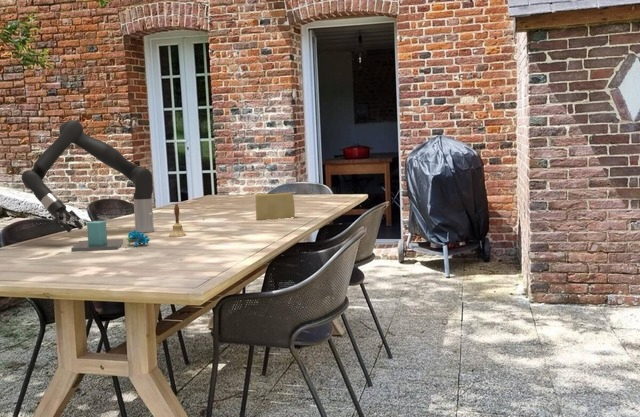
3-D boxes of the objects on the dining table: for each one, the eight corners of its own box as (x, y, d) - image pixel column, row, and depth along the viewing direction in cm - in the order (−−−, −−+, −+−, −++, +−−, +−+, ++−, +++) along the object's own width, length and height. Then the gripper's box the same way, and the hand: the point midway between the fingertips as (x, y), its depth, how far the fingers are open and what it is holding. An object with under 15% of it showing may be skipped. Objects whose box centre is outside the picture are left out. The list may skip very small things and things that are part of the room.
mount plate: (123, 242, 335) (122, 223, 334) (117, 249, 316) (116, 229, 315) (79, 244, 332) (78, 225, 331) (71, 251, 313) (70, 231, 312)
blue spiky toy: (154, 241, 327) (141, 228, 320) (149, 251, 323) (137, 238, 316) (135, 243, 331) (123, 230, 325) (131, 253, 328) (118, 240, 321)
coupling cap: (95, 242, 328) (94, 221, 326) (107, 242, 326) (105, 221, 325) (88, 244, 322) (86, 222, 321) (99, 244, 320) (98, 223, 319)
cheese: (294, 217, 411) (293, 191, 409) (294, 219, 402) (294, 193, 400) (256, 218, 410) (255, 192, 408) (256, 220, 400) (255, 194, 399)
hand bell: (189, 235, 352) (188, 203, 350) (175, 237, 346) (174, 205, 344) (179, 233, 358) (178, 202, 356) (166, 235, 352) (164, 204, 350)
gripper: (48, 200, 320) (71, 226, 318) (67, 197, 334) (89, 221, 332) (38, 212, 322) (61, 237, 320) (58, 208, 336) (80, 232, 334)
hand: (76, 229), depth 326 cm, fingers open, 8 cm apart
